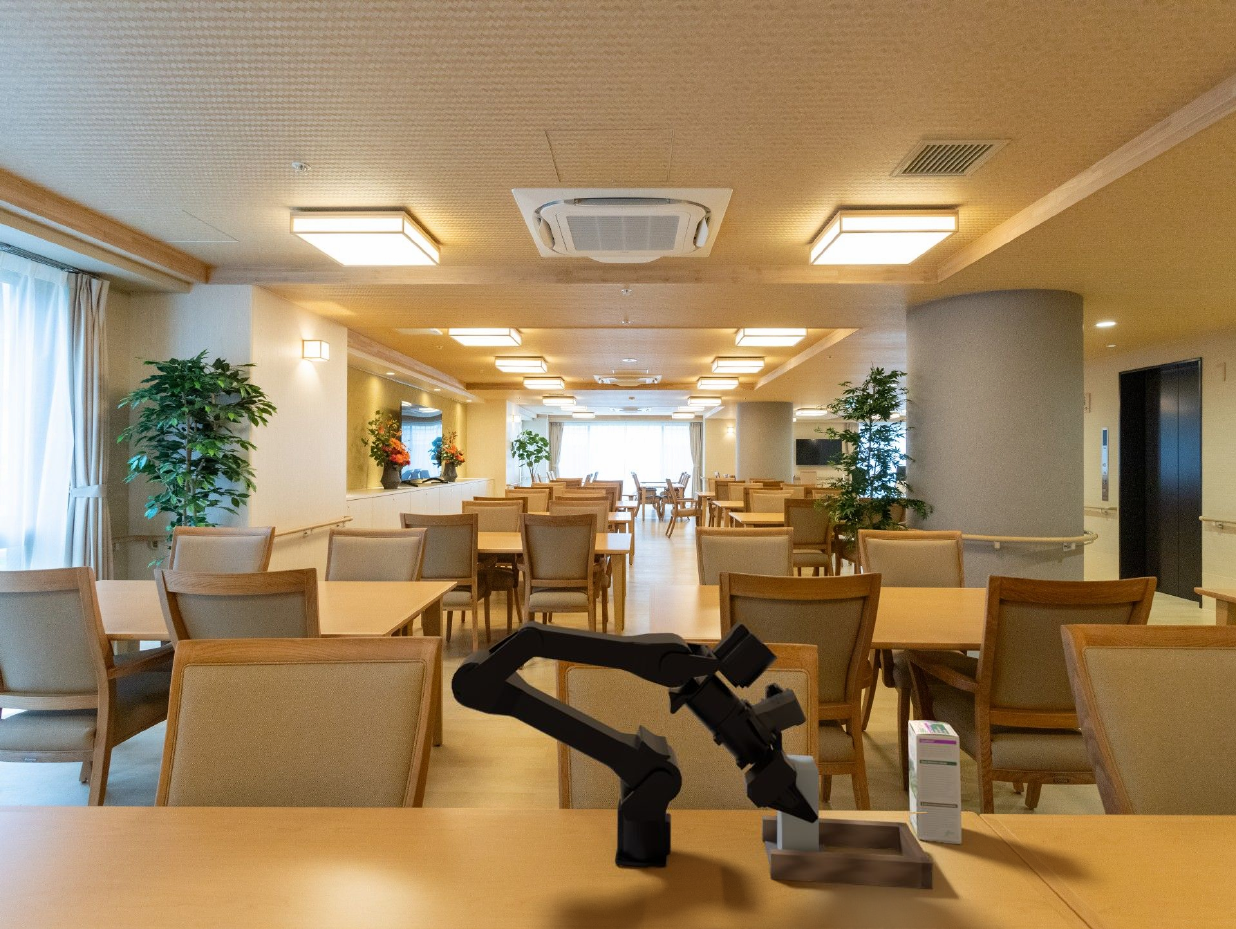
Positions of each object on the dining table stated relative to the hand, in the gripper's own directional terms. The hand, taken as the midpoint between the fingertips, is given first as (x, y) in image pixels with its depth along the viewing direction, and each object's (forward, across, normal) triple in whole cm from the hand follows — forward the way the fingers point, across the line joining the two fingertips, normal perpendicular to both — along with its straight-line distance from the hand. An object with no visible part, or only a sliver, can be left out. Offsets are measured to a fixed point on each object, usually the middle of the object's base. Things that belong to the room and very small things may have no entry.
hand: (808, 802), depth 89 cm
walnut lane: (+8, 0, +2) cm, 8 cm away
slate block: (+4, 0, +6) cm, 7 cm away
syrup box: (+18, +9, -8) cm, 22 cm away
